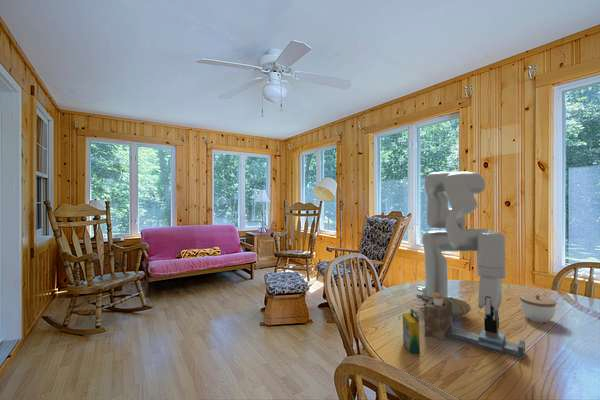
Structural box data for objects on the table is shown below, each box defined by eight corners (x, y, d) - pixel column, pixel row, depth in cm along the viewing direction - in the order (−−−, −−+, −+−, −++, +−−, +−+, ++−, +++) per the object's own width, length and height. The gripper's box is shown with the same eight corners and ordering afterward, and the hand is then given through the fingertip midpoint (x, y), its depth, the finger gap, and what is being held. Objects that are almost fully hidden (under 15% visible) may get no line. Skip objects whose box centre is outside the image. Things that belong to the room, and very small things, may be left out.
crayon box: (402, 342, 96) (402, 307, 96) (411, 342, 96) (411, 307, 96) (410, 354, 89) (409, 316, 89) (420, 354, 89) (419, 316, 89)
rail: (445, 337, 99) (445, 327, 99) (449, 332, 103) (449, 322, 103) (523, 359, 85) (523, 348, 85) (525, 352, 89) (525, 341, 89)
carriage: (478, 344, 92) (478, 307, 92) (483, 336, 97) (482, 301, 97) (501, 350, 88) (501, 312, 88) (505, 341, 93) (504, 305, 93)
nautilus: (406, 314, 121) (421, 306, 131) (463, 327, 106) (475, 317, 116) (405, 295, 122) (420, 288, 132) (462, 304, 106) (474, 296, 117)
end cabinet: (424, 334, 102) (424, 306, 102) (434, 325, 109) (434, 298, 109) (443, 340, 98) (442, 310, 98) (452, 330, 105) (451, 302, 105)
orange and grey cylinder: (432, 314, 103) (431, 294, 103) (435, 311, 106) (434, 292, 106) (441, 316, 101) (441, 296, 101) (444, 313, 103) (444, 293, 103)
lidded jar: (563, 326, 107) (563, 300, 107) (529, 324, 109) (529, 298, 109) (545, 314, 117) (544, 291, 117) (514, 313, 119) (514, 290, 119)
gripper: (482, 265, 101) (483, 318, 101) (471, 274, 89) (472, 335, 89) (509, 268, 96) (509, 324, 96) (501, 278, 84) (501, 343, 84)
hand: (491, 329), depth 93 cm, fingers closed on carriage, 3 cm apart
